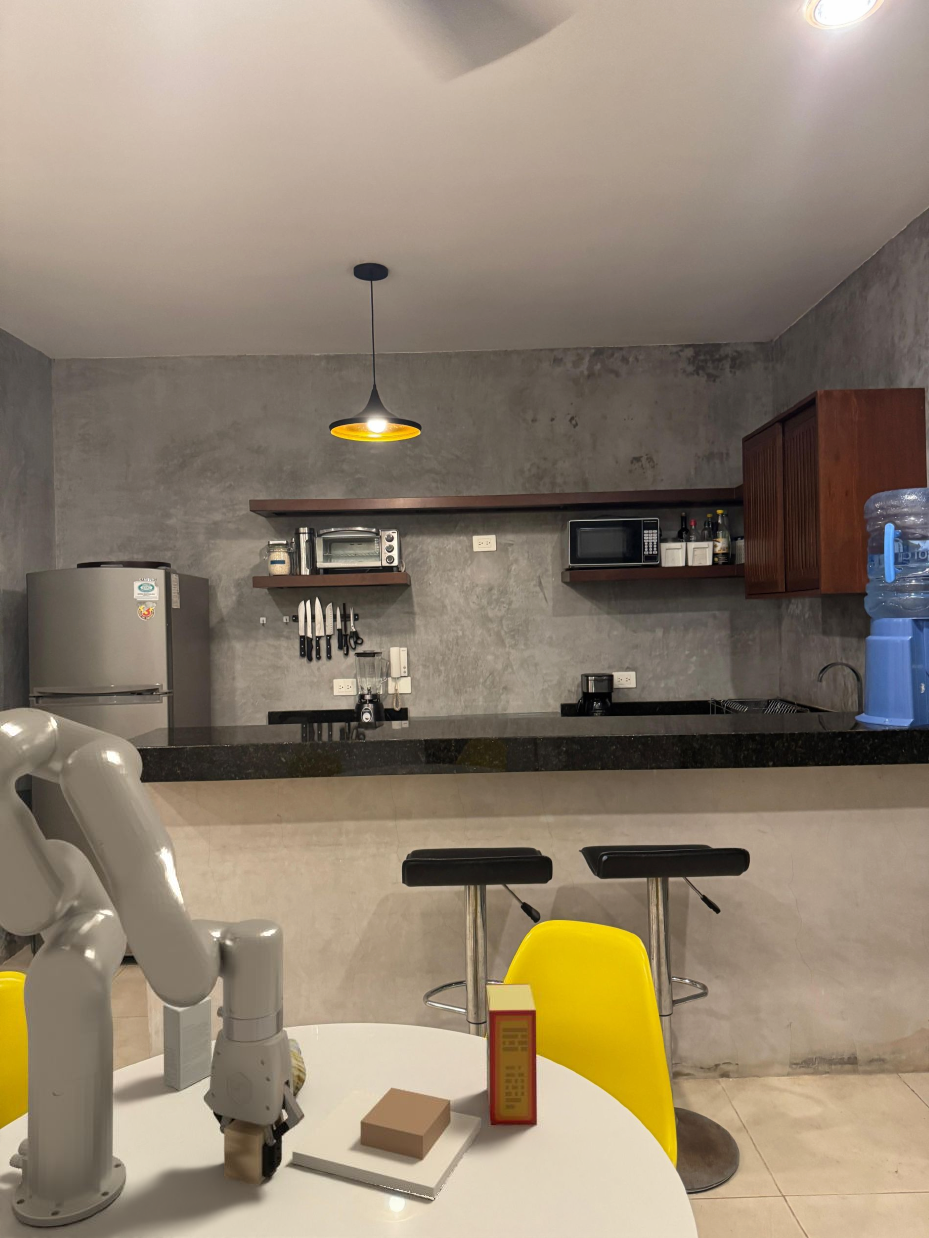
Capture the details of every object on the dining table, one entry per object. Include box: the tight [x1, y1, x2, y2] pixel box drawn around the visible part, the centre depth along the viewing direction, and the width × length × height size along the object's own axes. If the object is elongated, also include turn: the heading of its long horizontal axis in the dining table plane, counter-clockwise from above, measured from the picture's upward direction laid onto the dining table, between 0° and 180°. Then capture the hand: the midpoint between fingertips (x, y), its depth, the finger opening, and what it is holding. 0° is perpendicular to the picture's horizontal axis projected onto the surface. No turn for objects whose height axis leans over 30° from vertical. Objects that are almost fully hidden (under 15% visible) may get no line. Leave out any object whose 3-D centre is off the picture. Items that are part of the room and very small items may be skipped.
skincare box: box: [162, 996, 213, 1092], centre depth 130 cm, size 6×4×12 cm
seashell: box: [288, 1038, 307, 1096], centre depth 125 cm, size 10×10×10 cm
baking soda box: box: [485, 983, 538, 1126], centre depth 122 cm, size 10×6×16 cm
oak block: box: [223, 1119, 276, 1187], centre depth 107 cm, size 5×5×6 cm
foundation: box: [291, 1087, 482, 1198], centre depth 112 cm, size 20×16×4 cm
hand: (252, 1164), depth 107 cm, fingers closed on oak block, 5 cm apart
